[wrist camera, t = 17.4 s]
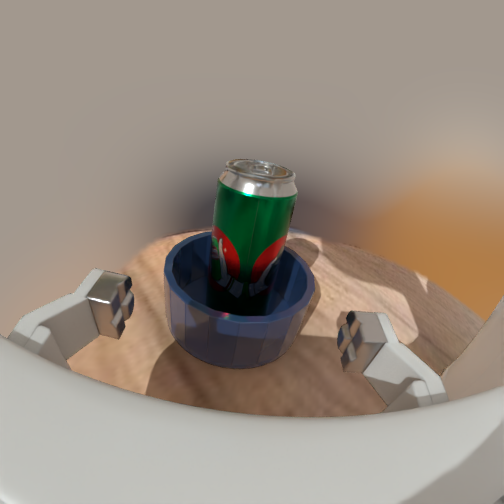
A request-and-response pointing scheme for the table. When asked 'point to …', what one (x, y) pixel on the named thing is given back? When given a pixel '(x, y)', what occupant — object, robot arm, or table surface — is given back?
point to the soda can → (248, 235)
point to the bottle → (479, 360)
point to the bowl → (228, 325)
